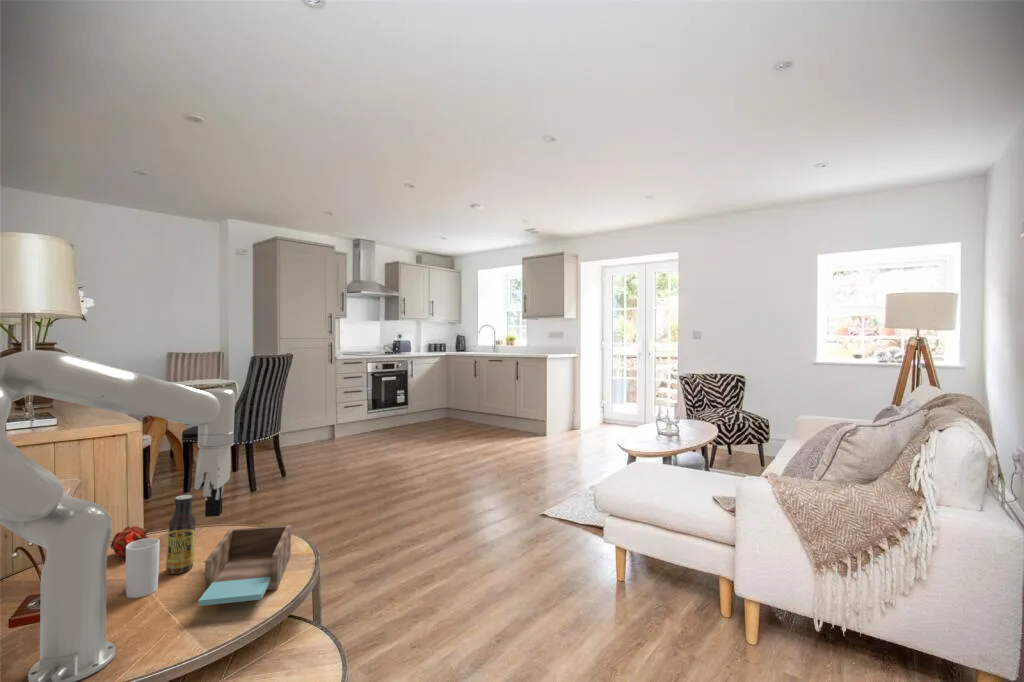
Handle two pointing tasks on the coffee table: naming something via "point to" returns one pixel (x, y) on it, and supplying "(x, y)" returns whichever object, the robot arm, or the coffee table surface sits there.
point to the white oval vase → (142, 567)
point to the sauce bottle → (181, 537)
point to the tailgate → (234, 591)
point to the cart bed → (250, 555)
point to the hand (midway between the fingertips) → (213, 515)
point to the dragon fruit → (127, 539)
